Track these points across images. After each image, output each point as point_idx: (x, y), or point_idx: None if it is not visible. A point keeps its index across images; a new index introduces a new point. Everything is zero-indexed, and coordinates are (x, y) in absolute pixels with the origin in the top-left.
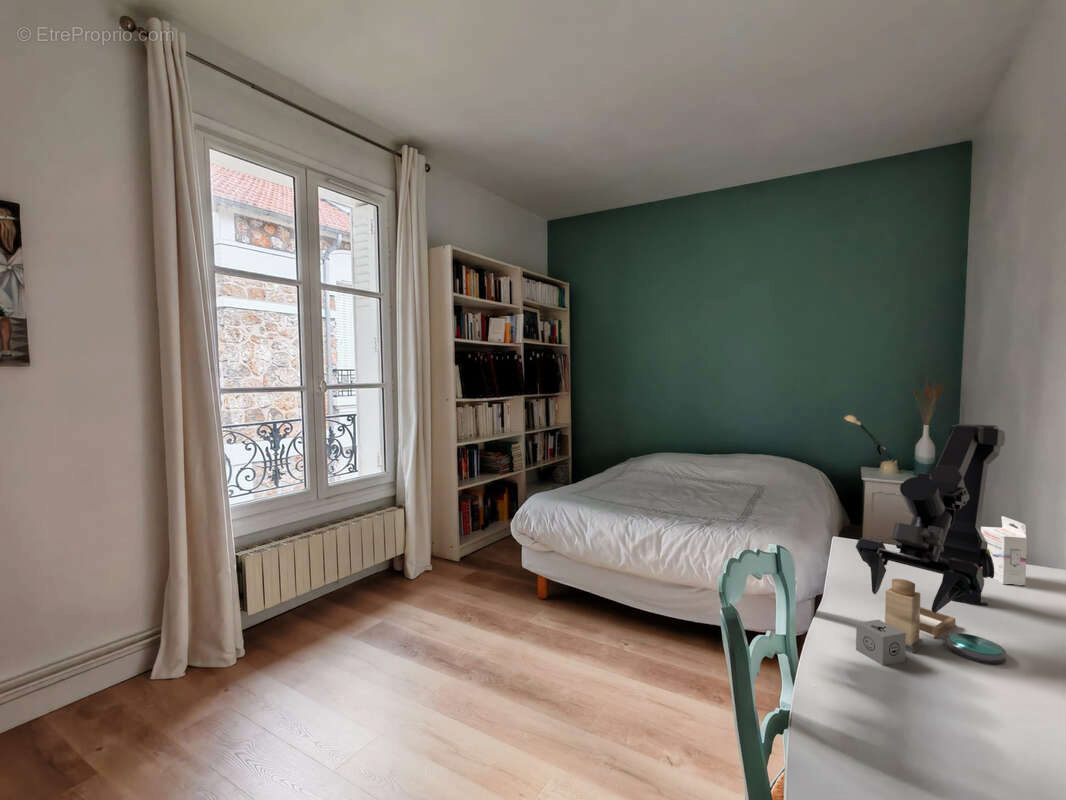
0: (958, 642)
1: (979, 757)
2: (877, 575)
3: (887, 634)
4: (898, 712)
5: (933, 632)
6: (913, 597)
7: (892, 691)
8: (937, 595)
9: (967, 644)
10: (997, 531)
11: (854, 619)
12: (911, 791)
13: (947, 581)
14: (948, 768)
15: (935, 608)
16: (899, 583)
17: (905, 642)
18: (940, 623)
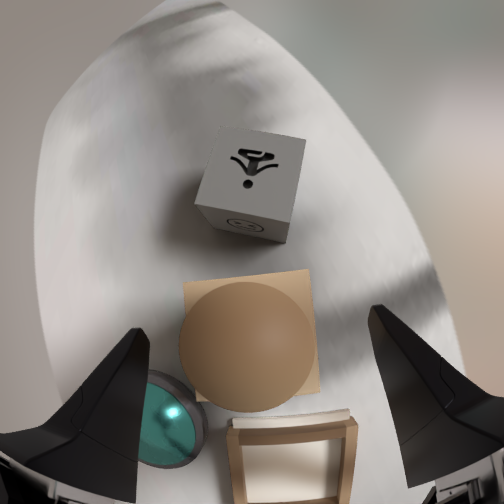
0: (164, 401)
1: (88, 94)
2: (412, 366)
3: (220, 148)
4: (161, 77)
5: (236, 431)
6: (185, 306)
7: (182, 106)
8: (107, 374)
9: (150, 405)
10: None
11: None
12: (130, 27)
13: (52, 432)
14: (109, 60)
15: (128, 335)
16: (249, 304)
17: (201, 212)
18: (240, 474)
